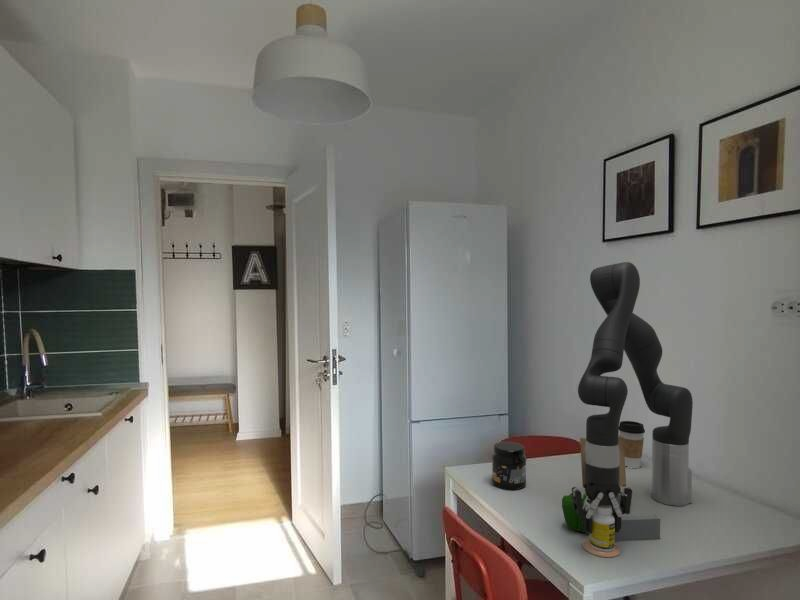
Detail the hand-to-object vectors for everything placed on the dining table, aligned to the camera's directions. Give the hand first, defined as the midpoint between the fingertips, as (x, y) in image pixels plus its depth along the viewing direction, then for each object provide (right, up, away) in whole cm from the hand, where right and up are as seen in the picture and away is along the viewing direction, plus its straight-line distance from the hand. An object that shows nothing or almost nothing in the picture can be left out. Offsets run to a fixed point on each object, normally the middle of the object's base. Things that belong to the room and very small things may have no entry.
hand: (601, 531), depth 114 cm
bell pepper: (-2, -4, +10) cm, 11 cm away
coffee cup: (+33, -3, +54) cm, 63 cm away
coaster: (0, -4, 0) cm, 4 cm away
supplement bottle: (0, -4, 0) cm, 4 cm away
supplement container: (-13, -4, +38) cm, 41 cm away
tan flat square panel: (+9, +9, +20) cm, 23 cm away
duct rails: (+9, -4, +12) cm, 16 cm away
